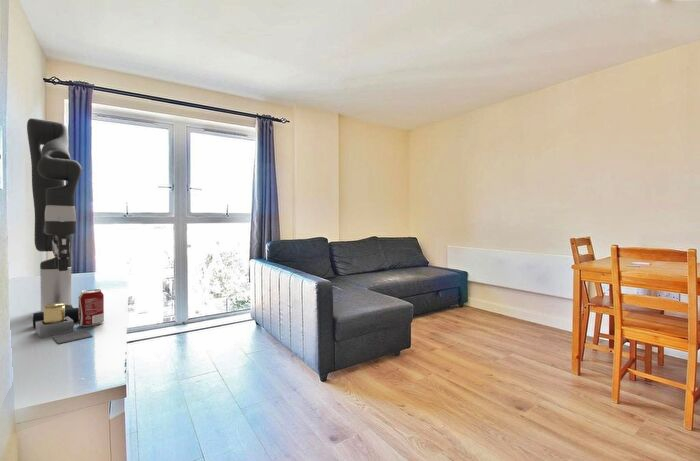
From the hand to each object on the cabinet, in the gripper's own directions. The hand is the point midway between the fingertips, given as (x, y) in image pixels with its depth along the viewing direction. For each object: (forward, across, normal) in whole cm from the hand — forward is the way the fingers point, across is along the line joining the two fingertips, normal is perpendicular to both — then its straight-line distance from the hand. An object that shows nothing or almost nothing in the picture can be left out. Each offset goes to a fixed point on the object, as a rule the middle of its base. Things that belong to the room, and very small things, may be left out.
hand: (61, 269), depth 103 cm
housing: (+20, 0, -2) cm, 21 cm away
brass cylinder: (+20, 0, -2) cm, 21 cm away
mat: (+20, +10, +1) cm, 23 cm away
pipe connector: (+21, -14, +2) cm, 26 cm away
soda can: (+21, -1, +8) cm, 22 cm away
